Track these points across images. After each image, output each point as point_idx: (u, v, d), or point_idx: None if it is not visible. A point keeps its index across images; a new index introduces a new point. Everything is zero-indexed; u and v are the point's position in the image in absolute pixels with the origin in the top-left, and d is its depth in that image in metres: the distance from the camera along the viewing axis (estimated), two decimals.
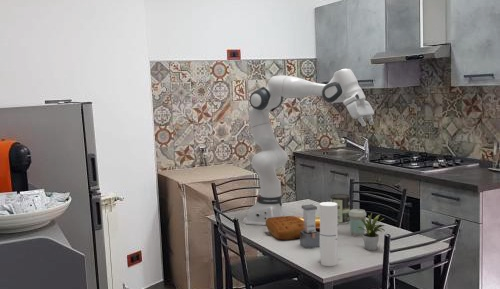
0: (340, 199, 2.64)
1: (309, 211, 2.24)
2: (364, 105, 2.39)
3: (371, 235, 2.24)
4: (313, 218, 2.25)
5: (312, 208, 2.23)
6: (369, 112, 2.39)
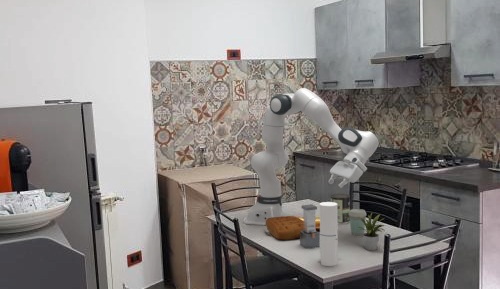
0: (340, 199, 2.64)
1: (309, 211, 2.24)
2: None
3: (371, 235, 2.24)
4: (313, 218, 2.25)
5: (312, 208, 2.23)
6: None
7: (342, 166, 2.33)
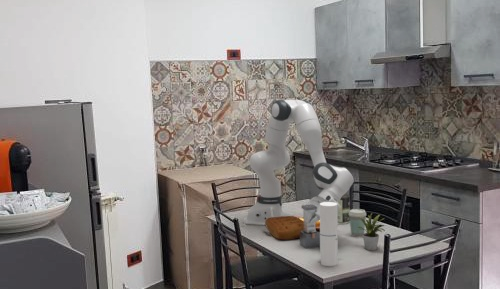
0: (340, 199, 2.64)
1: (309, 211, 2.24)
2: None
3: (371, 235, 2.24)
4: (313, 218, 2.25)
5: (312, 208, 2.23)
6: None
7: (316, 203, 2.30)
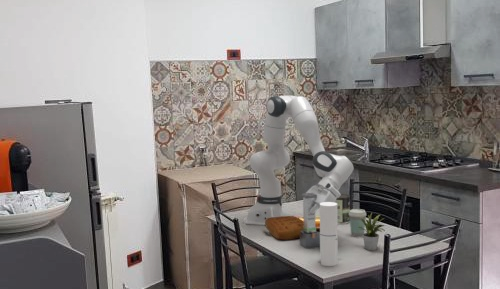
0: (340, 199, 2.64)
1: (309, 199, 2.23)
2: None
3: (371, 235, 2.24)
4: (313, 206, 2.24)
5: (312, 196, 2.23)
6: None
7: (316, 191, 2.29)
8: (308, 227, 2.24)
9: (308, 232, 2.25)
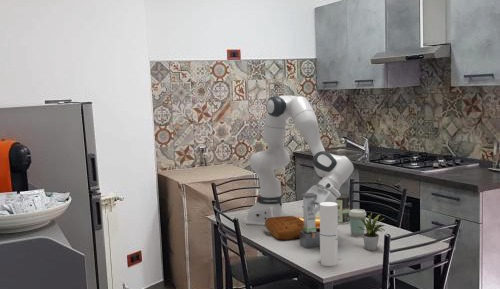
0: (340, 199, 2.64)
1: (309, 199, 2.23)
2: None
3: (371, 235, 2.24)
4: (313, 206, 2.24)
5: (312, 196, 2.23)
6: None
7: (316, 191, 2.29)
8: (308, 227, 2.24)
9: (308, 232, 2.25)
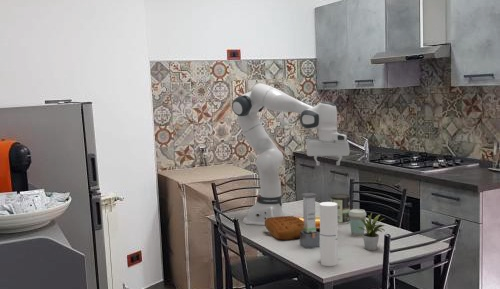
0: (340, 199, 2.64)
1: (309, 199, 2.23)
2: None
3: (371, 235, 2.24)
4: (313, 206, 2.24)
5: (312, 196, 2.23)
6: None
7: (322, 145, 2.37)
8: (308, 227, 2.24)
9: (308, 232, 2.25)
